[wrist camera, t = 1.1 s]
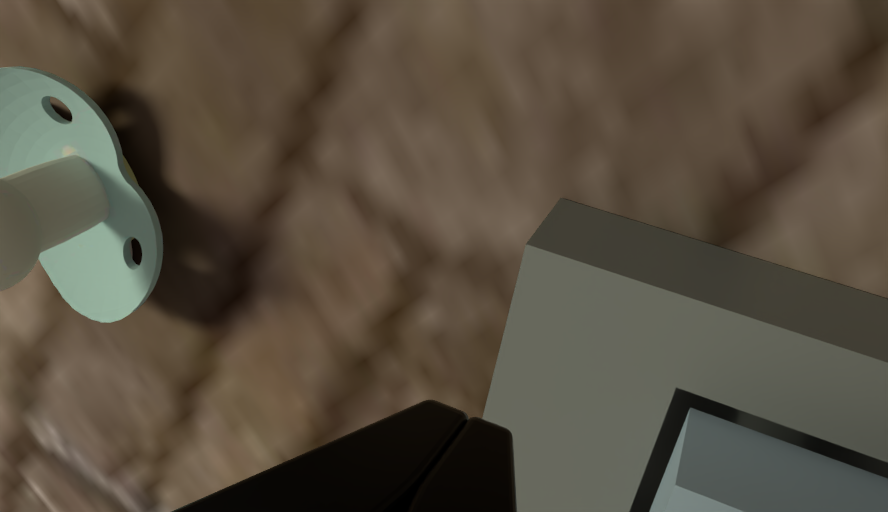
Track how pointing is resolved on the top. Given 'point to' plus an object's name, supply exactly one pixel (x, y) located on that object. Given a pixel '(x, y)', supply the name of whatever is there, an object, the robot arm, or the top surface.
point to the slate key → (759, 474)
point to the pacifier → (71, 199)
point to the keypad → (673, 359)
